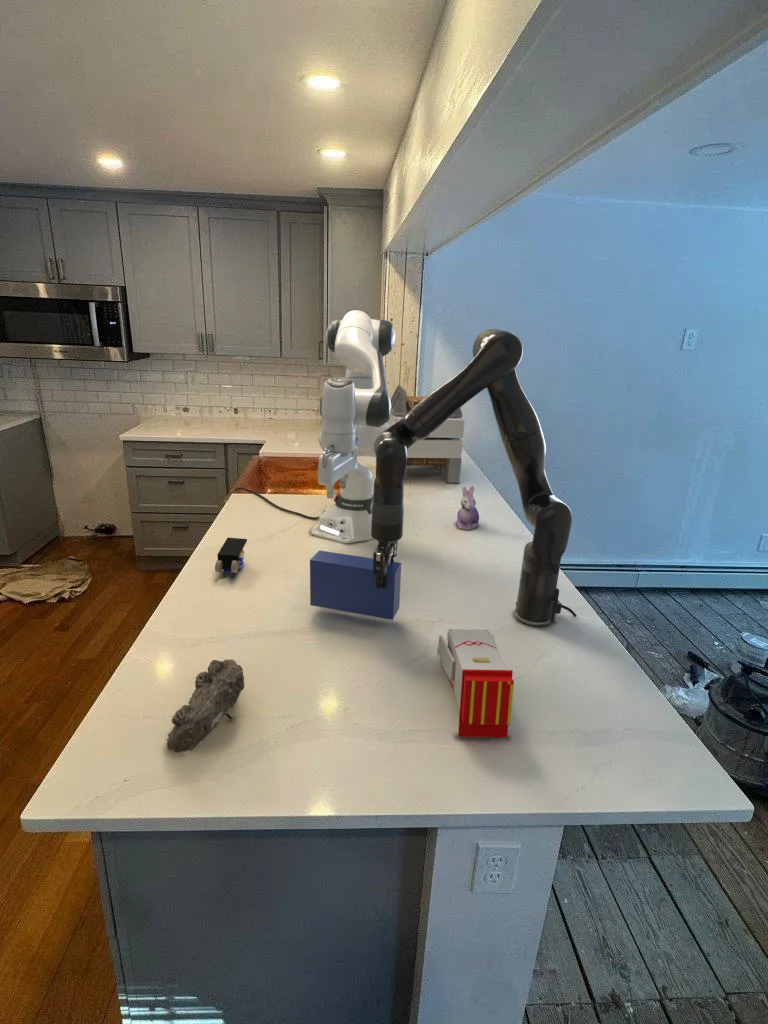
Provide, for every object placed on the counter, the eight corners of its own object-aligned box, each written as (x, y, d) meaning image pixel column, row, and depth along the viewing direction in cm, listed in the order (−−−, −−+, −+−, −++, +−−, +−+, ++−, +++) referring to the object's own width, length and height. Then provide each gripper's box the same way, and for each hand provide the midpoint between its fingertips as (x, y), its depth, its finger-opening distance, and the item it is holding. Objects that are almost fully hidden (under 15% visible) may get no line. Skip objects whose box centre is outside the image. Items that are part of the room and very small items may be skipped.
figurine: (464, 532, 204) (468, 492, 199) (449, 522, 212) (452, 484, 207) (486, 528, 208) (490, 489, 203) (469, 519, 216) (473, 481, 211)
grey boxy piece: (382, 463, 289) (386, 382, 275) (445, 464, 293) (451, 384, 279) (390, 482, 257) (394, 392, 243) (460, 483, 261) (468, 394, 247)
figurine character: (238, 584, 162) (249, 557, 175) (236, 562, 158) (247, 536, 172) (215, 584, 161) (227, 556, 175) (212, 561, 158) (225, 535, 171)
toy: (488, 613, 130) (523, 677, 101) (484, 667, 133) (517, 744, 104) (435, 612, 130) (455, 676, 101) (432, 666, 133) (451, 743, 103)
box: (310, 605, 144) (309, 559, 139) (319, 594, 149) (319, 550, 145) (392, 620, 138) (395, 573, 134) (399, 608, 144) (401, 562, 140)
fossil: (192, 660, 117) (244, 628, 112) (224, 691, 120) (276, 661, 115) (142, 746, 98) (202, 712, 93) (182, 779, 101) (242, 748, 96)
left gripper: (335, 451, 137) (334, 505, 142) (361, 436, 156) (360, 484, 160) (311, 449, 139) (311, 502, 143) (340, 433, 157) (339, 481, 162)
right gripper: (394, 530, 126) (391, 597, 132) (410, 510, 139) (406, 572, 145) (362, 526, 128) (361, 592, 134) (380, 506, 141) (378, 567, 147)
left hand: (337, 492), depth 152 cm, fingers open, 8 cm apart
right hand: (384, 581), depth 139 cm, fingers closed on box, 6 cm apart
